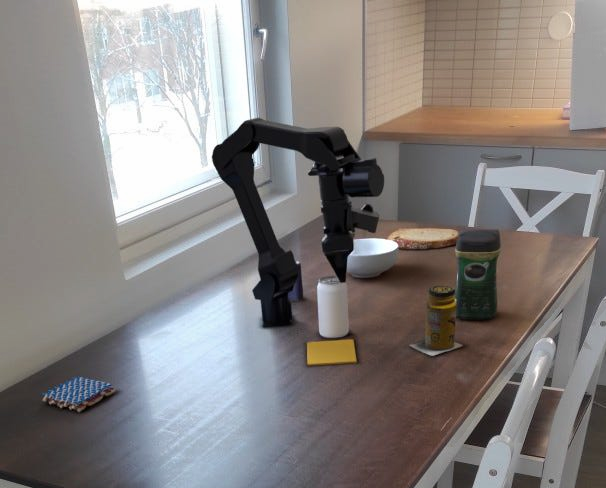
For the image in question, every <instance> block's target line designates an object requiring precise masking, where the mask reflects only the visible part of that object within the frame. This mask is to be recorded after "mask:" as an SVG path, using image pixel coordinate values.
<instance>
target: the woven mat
mask: <svg viewBox="0 0 606 488" xmlns="http://www.w3.org/2000/svg"><path fill="white" fill-rule="evenodd" d="M59 385H60V386H53V388H54V389H48V390H47V391H48V392H42V393H41V396H43V397H42V402H44V403H48V404H49V405H50V406H51V405H56V406H57V407H59V408H60V409H63V408H69V410H70V411H72V410H74V411H77V412H78V413H81V412H82V411H83V410H84V409H85V408H87V407H88V406H89V407H90V406H93V405H95V404H96V403H99V402H100V401H101V400H102V399H103V398H105V397H108V396H111V395H113V394H115V393H116V389H115V388H114V387H113V384H112V383H108V382H105V381H104V382H103V381H102V380H101V381H100V380H96V379H91V378H86V377H83V376H82V377H81V376H77V377H71V380H70V379H69V380H66V381H65V383H59Z"/></svg>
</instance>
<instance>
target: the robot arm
mask: <svg viewBox="0 0 606 488" xmlns="http://www.w3.org/2000/svg"><path fill="white" fill-rule="evenodd" d="M261 144H262V145H266V146H271V147H275V148H281V149H285V150H286V149H287V150H290V151H294V152H298V153H300V154H301V155H302V156H303V157H304V158H305V159H307V160H309V161H312V162H313V165H312V167H311V168H310V170H309V171H308V172H307V175H308V176H309V177H315V176H317V181H318V191H319V200H320V213H321V214H322V222H323V223H322V224H323V234H324V236H323V238H322V239H321V249H322V253H323V255H324V256H325V258H326V260H327V261H328V263H329V265H330V267H331V268H332V270H333V272H334V274H335V275H336V276H337V277H338V279H339V281H340V283H346V281H347V272H346V271H347V260H348V256H349V255H350V254H351V252H353V250H354V240H355V239H354V238H355V237H356V236H355V235H356V229H358V230H363V231H366V232H368V233H371V234H376V233H377V228H378V225H379V224H378V223H379V220H380V213H378V211H374V206H373V204H370V203H365V204H363V206H362V207H353V204H352V200H351V199H350V198H377V197H380V196H381V195H382V193H383V191H384V187H385V175H384V173H383V170H382V168H381V167H380V166H379V165H378V162H377V161H378V160H377V158H376V157H370V158H367V159H362V158H361V156H360V155H359V153H357V151H356V149H355V148H354V146H353V145H352V143H351V142H350V141H349V140H348V135H347V134H346V132H345V130H344V128H341V127H340V126H322V127H312V128H311V127H310V128H306V127H302V126H296V125H291V124H287V123H281V122H276V121H271V120H266V119H263V118H261V117H254V118H250V119H246V120H243V122H242V123H241V124H240V125H239V126H238V127H237V128H236V130H235V131H233V132H232V133H230V134H229V136H227V137H226V138H225V139H224V140H223V141H222V142H221V143H219V144H216V145H215V146H214V148H213V150H212V155H211V156H210V157H211V162H212V165H213V167H214V169H215V172H216V173H217V175H218V176H219V178H220V180H222V182H224V183H225V184H226V186H228V187H229V188H230V189H231V191H232V192H233V195H234V197H235V199H236V202H237V204H238V207H239V209H240V212H241V214H242V217H243V219H244V222H245V225H246V226H247V229H248V232H249V234H250V237H251V239H252V242H253V244H254V247H255V250H256V252H257V255H258V261H257V262H258V264H257V271H258V272H257V273H258V275H259V279H260V280H259V281H258V282H257V283H256V285H255V286H254V287H253V289H252V290H251V292H252V294H253V297H254V300H258V301H260V307H261V308H260V309H261V319H262V320H261V326H262V327H279V326H290V325H291V321H292V320H293V307H292V305H293V304H292V300H291V299H288V293H289V292H291V291H293V289H294V284H295V283H296V282H297V278H298V276H299V275H298V270H297V268H299V266H298V265H297V264H296V262H295V261H296V260H295V259H296V258H295V256H294V253H293V251H292V250H290V249H289V250H287V251H286V250H284V248H283V247H281V246H280V244H279V242H278V239H277V237H276V233H275V231H274V229H273V227H272V224H271V221H270V219H269V216H268V214H267V211H266V208H265V205H264V203H263V200H262V198H261V196H260V193H259V190H258V188H257V185H256V183H255V179H254V178H255V161H254V157H253V155H254V154H255V153H256V152H257V150H259V148H260V145H261Z"/></svg>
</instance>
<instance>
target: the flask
mask: <svg viewBox="0 0 606 488" xmlns="http://www.w3.org/2000/svg"><path fill="white" fill-rule="evenodd" d="M295 262H296V264H297V265H298V266H299V268H297V270H298V275H299V276H298V278H297V282H296V283H295V284H294V289H293V291H291V292H289V293H288V299H291V301H295V302H296V301H297V302H298V301H303V300H304V286H303V276H302V275H303V274H302V263H301V262H300V261H298V260H297V261H296V260H295Z"/></svg>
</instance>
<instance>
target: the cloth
mask: <svg viewBox="0 0 606 488" xmlns="http://www.w3.org/2000/svg"><path fill="white" fill-rule="evenodd" d="M306 354H307V356H306V358H307V359H306V360H307V366H308V367H311V366H325V365H326V366H327V365H329V366H330V365H342V364H343V365H344V364H356V363H358V361H357V355H356V347H355V342H354V339H337V340H336V339H335V340H322V341H320V340H319V341H308V342H306Z"/></svg>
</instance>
